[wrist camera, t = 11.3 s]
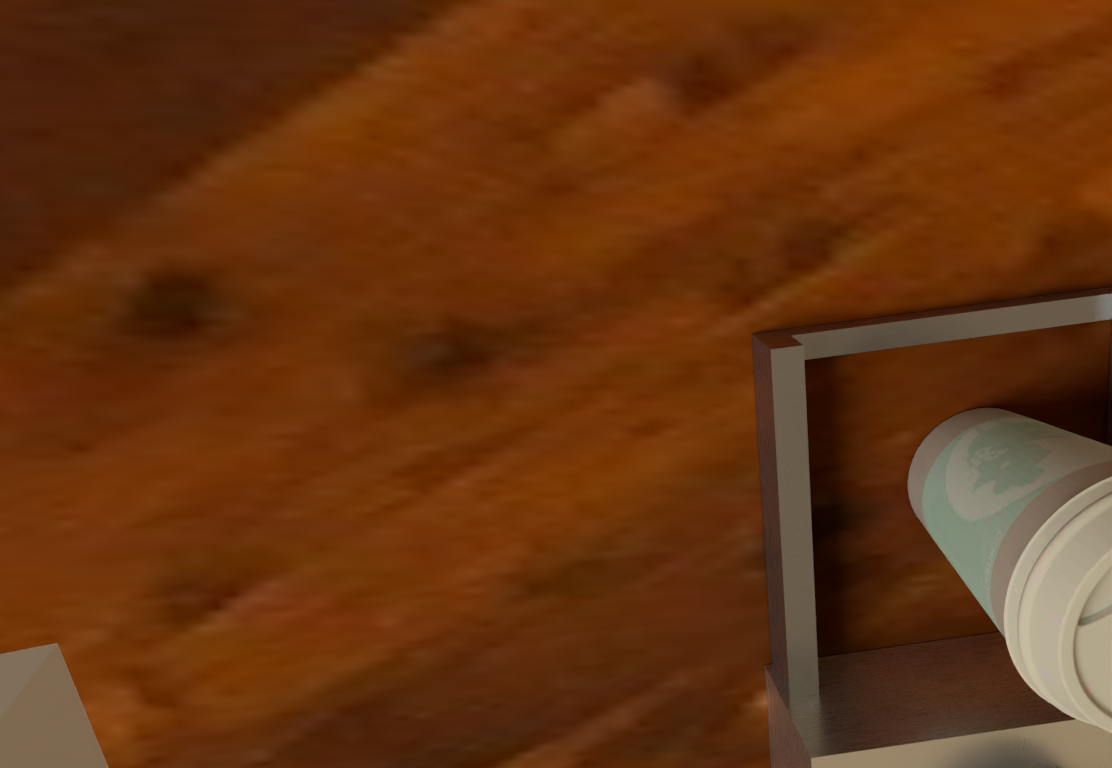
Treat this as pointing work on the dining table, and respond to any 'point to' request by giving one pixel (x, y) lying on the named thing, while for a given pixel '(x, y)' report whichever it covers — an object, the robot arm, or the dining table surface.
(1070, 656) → the coffee cup
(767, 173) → the dining table surface
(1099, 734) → the button box with rail
